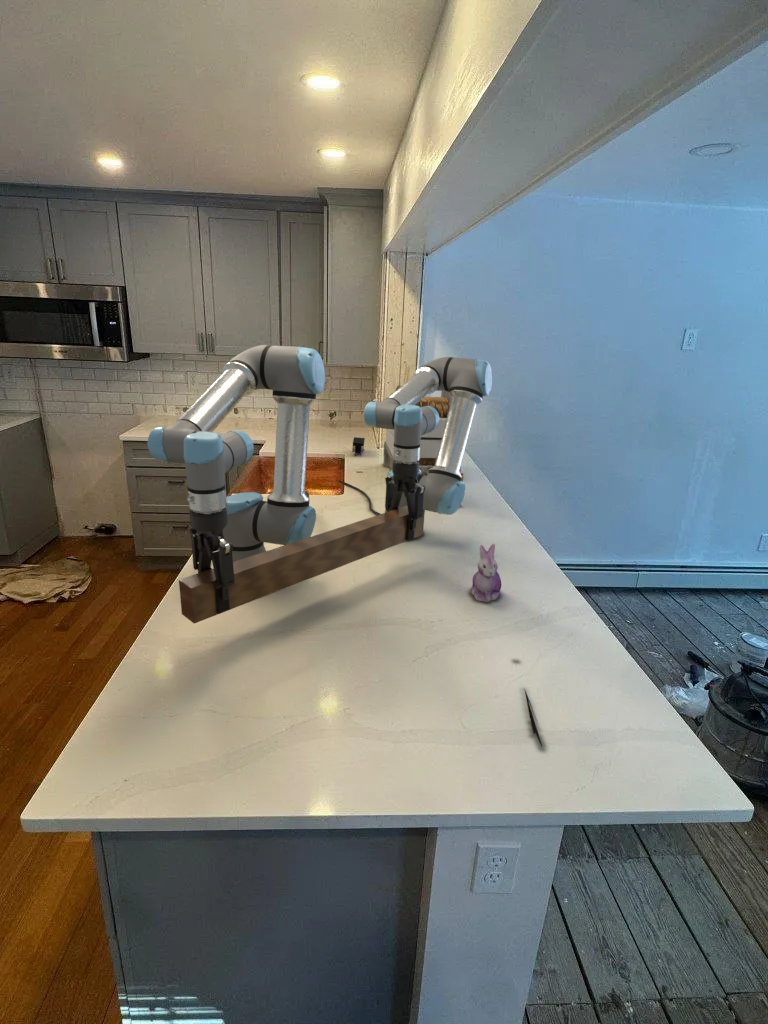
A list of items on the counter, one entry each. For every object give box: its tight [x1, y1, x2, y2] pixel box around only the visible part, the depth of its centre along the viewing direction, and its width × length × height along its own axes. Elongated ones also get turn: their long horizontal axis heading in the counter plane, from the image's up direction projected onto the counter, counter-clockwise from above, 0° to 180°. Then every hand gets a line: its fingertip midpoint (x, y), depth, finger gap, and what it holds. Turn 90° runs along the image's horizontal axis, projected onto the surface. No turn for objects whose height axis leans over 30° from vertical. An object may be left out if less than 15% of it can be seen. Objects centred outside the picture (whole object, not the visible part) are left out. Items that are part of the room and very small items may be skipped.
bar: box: [178, 506, 426, 625], centre depth 146 cm, size 76×5×8 cm, turn 137°
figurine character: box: [351, 436, 365, 456], centre depth 305 cm, size 7×8×15 cm
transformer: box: [383, 384, 462, 473], centre depth 268 cm, size 34×33×41 cm
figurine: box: [471, 543, 502, 603], centre depth 157 cm, size 9×10×15 cm
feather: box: [515, 659, 545, 747], centre depth 116 cm, size 2×28×2 cm
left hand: (215, 605), depth 126 cm, fingers closed on bar, 5 cm apart
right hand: (402, 535), depth 169 cm, fingers closed on bar, 5 cm apart
